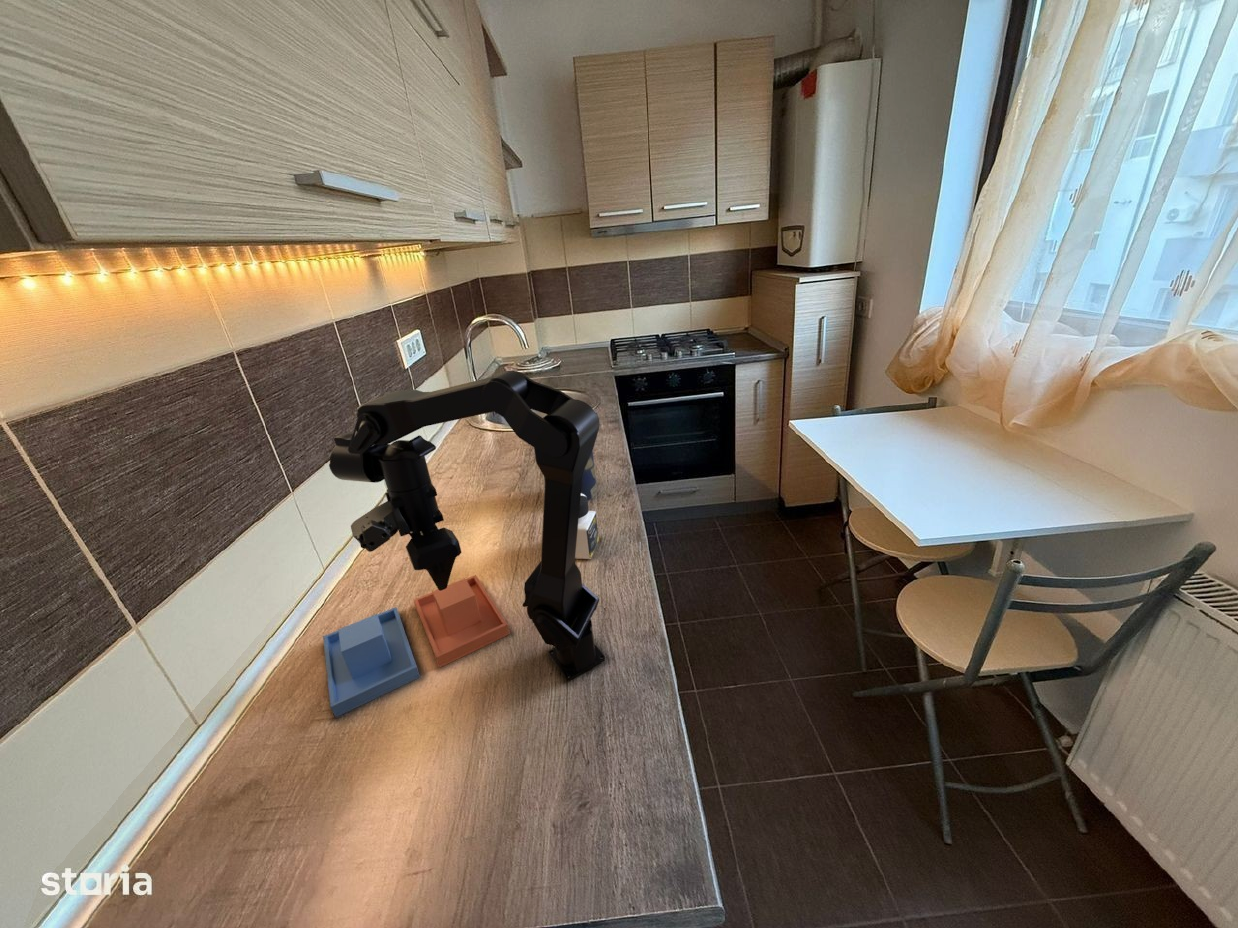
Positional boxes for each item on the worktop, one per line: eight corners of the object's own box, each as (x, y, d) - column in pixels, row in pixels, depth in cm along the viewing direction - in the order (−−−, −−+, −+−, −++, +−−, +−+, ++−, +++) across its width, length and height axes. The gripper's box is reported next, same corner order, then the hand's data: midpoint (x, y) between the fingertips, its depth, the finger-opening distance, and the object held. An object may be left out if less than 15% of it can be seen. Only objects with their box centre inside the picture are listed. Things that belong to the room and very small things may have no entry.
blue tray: (420, 677, 70) (416, 666, 69) (335, 717, 65) (330, 707, 64) (399, 616, 83) (396, 606, 82) (327, 645, 77) (322, 636, 76)
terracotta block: (481, 621, 79) (475, 594, 77) (448, 636, 76) (440, 609, 74) (471, 603, 83) (465, 578, 81) (439, 617, 81) (432, 591, 78)
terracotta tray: (509, 634, 77) (507, 624, 76) (439, 667, 71) (436, 657, 70) (478, 583, 89) (475, 574, 88) (416, 609, 84) (413, 599, 83)
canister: (597, 486, 122) (590, 420, 115) (597, 504, 114) (590, 434, 106) (560, 489, 122) (551, 423, 115) (557, 507, 114) (547, 437, 106)
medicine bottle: (590, 560, 93) (584, 506, 88) (556, 558, 95) (548, 505, 90) (599, 539, 100) (593, 489, 95) (566, 538, 101) (559, 488, 96)
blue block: (392, 661, 72) (382, 634, 70) (352, 679, 70) (341, 651, 68) (386, 640, 77) (377, 613, 74) (349, 656, 74) (337, 629, 72)
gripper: (339, 478, 70) (369, 565, 76) (353, 531, 55) (389, 633, 62) (417, 457, 75) (440, 540, 82) (449, 500, 61) (473, 597, 67)
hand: (435, 573), depth 73 cm, fingers open, 9 cm apart
